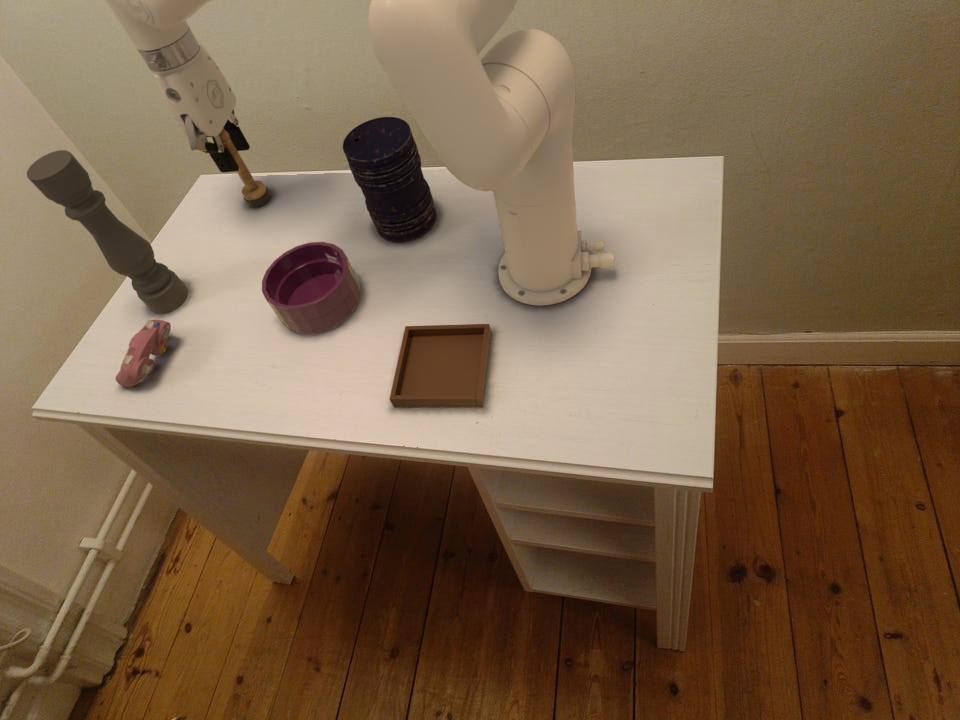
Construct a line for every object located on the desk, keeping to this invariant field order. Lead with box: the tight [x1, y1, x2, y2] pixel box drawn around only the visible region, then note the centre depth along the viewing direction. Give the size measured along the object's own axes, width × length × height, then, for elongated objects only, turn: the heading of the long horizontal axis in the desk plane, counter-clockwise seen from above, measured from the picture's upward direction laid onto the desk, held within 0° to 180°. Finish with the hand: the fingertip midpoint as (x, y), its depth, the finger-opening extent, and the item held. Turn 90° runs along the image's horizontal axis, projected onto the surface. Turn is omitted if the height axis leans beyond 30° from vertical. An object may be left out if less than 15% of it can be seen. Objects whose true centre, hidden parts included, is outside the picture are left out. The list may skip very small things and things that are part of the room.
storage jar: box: [342, 116, 438, 244], centre depth 89 cm, size 10×10×15 cm
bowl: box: [261, 241, 362, 334], centre depth 86 cm, size 12×12×6 cm
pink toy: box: [115, 319, 171, 388], centre depth 85 cm, size 10×5×7 cm, turn 169°
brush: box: [219, 128, 272, 209], centre depth 100 cm, size 4×4×14 cm
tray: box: [389, 323, 493, 409], centre depth 77 cm, size 11×11×2 cm
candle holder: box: [26, 149, 189, 315], centre depth 85 cm, size 6×6×25 cm
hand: (235, 159), depth 99 cm, fingers open, 4 cm apart
